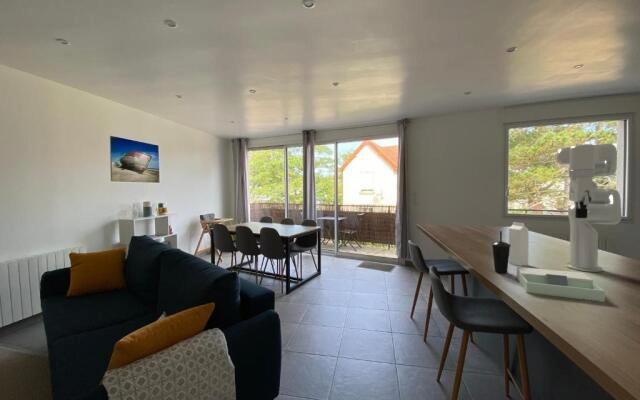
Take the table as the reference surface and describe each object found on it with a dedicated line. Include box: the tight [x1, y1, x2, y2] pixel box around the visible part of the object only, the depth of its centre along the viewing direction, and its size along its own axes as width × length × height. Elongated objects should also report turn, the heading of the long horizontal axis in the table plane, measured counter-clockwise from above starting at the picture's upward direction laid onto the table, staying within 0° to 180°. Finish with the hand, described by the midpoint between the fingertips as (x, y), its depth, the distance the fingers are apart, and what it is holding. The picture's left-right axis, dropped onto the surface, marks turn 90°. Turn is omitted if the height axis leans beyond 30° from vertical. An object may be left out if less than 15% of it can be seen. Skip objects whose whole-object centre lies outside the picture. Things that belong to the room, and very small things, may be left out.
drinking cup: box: [491, 230, 511, 274], centre depth 126 cm, size 8×8×20 cm
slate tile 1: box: [545, 274, 568, 286], centre depth 103 cm, size 4×6×2 cm
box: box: [520, 276, 606, 303], centre depth 101 cm, size 9×22×4 cm, turn 63°
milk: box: [508, 221, 529, 267], centre depth 138 cm, size 6×6×22 cm
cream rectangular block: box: [516, 266, 594, 283], centre depth 109 cm, size 9×22×5 cm, turn 63°
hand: (581, 217), depth 111 cm, fingers closed
